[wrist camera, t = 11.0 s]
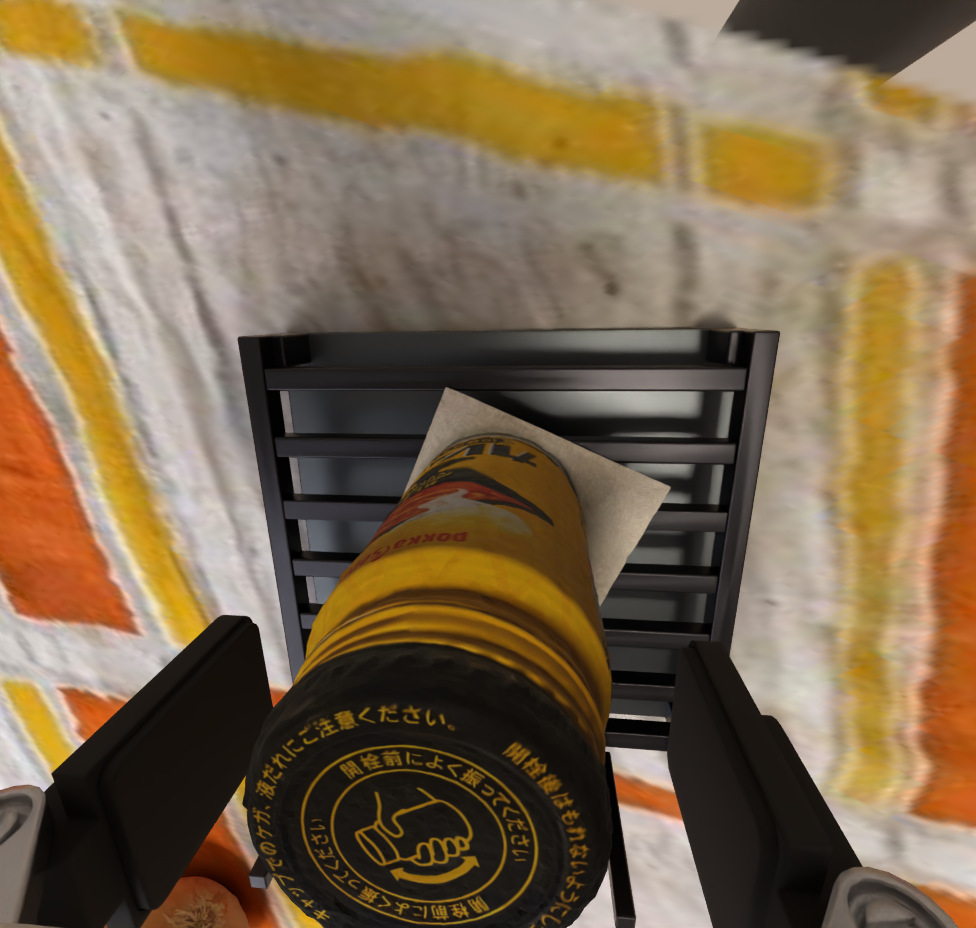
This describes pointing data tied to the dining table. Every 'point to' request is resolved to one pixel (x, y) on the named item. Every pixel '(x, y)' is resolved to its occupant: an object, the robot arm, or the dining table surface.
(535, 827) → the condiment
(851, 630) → the dining table surface
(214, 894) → the onion
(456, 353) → the dish rack
